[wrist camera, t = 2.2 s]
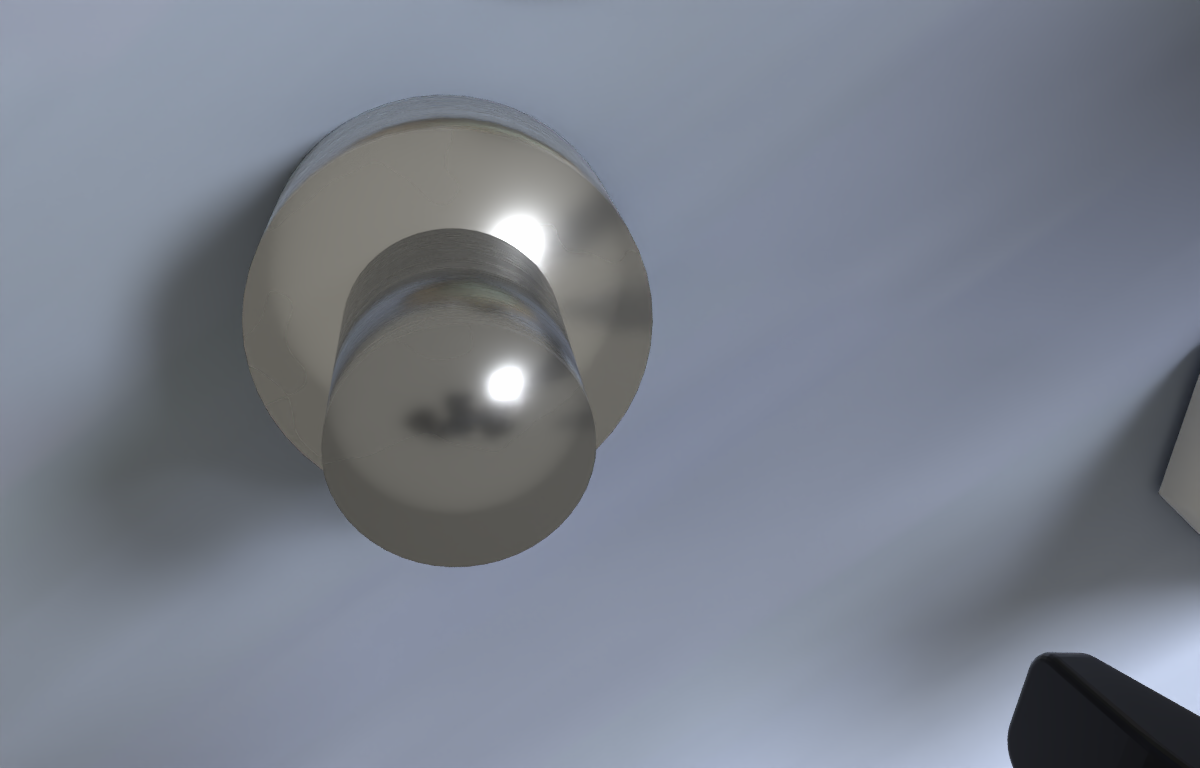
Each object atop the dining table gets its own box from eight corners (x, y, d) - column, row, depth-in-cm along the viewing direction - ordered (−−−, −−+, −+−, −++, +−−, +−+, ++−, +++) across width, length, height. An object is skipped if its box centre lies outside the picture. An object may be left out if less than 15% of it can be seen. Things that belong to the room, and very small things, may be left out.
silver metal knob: (691, 291, 18) (803, 466, 13) (433, 492, 19) (436, 735, 14) (468, 13, 16) (492, 86, 11) (186, 256, 17) (77, 435, 12)
